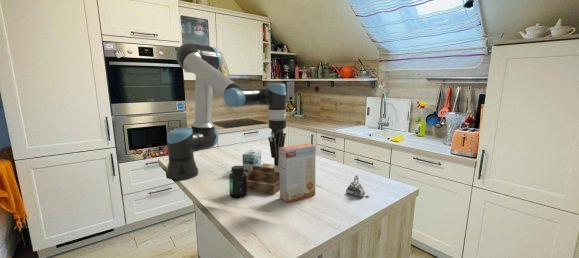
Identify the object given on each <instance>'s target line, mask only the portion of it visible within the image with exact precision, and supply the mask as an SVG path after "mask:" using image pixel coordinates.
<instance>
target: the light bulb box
mask: <svg viewBox="0 0 579 258" xmlns="http://www.w3.org/2000/svg"><path fill="white" fill-rule="evenodd" d="M241 155H242V166H243V167H244V173H245V174H248V173H250V172H251V170H252V169H253V166H259V165H261V164H262V150H261V149H260V150H259V149H249V150H247V151H245V152H244V153H242V154H241Z"/></svg>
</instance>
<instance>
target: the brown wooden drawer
mask: <svg viewBox="0 0 579 258" xmlns="http://www.w3.org/2000/svg"><path fill="white" fill-rule="evenodd" d="M246 180H247V191H251V192H257V193H263V194H269V195H276V194H277V193H278V192H280V177H279V175H272V174H265V173H258V172H250V173H248V174H246Z"/></svg>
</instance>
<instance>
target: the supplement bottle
mask: <svg viewBox="0 0 579 258" xmlns="http://www.w3.org/2000/svg"><path fill="white" fill-rule="evenodd" d="M228 177H229V178H228V181H229V197H231V198H232V199H242V198H245V197H246V196H247V195H248V193H247V192H248V190H247V180H246V174H245V173H244V167H243V165H233V166H231V173H230V174H229V176H228Z"/></svg>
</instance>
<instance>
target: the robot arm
mask: <svg viewBox="0 0 579 258" xmlns="http://www.w3.org/2000/svg"><path fill="white" fill-rule="evenodd" d="M175 58H176V61H177V63H178V65H179V66H180V67H181V68H182V69H184V71H186V72H187V73H192V74H194V75H195V86H194V87H195V88H194V89H195V92H194V98H195V99H194V122H192V123H191V127H189V126H188V127H187V126H186V127H178V128H174V129H172V130H170V131H168V133H167V134H166V137H167V138H166V142H167V153H168V165H167V169H166V170H165V178H166V179H169V180H173V181H174V180H175V181H177V180H188V179H191V178H194V177H196V176H197V175H199V168H198V167H197V164H196V160H195V157H194V156H195V155H194V153H196V152H200V151H202V150H204V151H205V150H208V149H211V148H213V147H215V146H216V145H217V144H218V141H219V137H220V136H219V132H218V130H217V128H216V127H215V124H214V123H213V122H212V119H213V118H212V117H213V115H212V114H213V96H214V95H213V94H214V93H213V92H214V91H216V92H217V93H218V94H219V95H220V96H222V97H223V101H224V102H225V105H226V106H228V107H230V108H243V107H250V106H251V107H252V106H268V119H269V120H268V128H269V129H270V130H271V133H270V136H268V143H269V148H270V149H269V150H270V156H271V158H273V159H274V160H273V165H274V172H279V148H280V147H285V142H286V141H285V140H286V136H287V134H286V132H284V129H286V127H287V120H286V118H287V113H288V112H287V108H286V107H287V103H286V102H287V91H286V84H285V83H273V82H272V83H268V86H267V88H265V87H241V86H240V85H239V84H237V83H236V82H235V81H234V80H232V79H230V78H229V77H228V76H226V75H225V74H224V73H222V72H221V71H220V70H219V69H220V68H221V66H222V62H223V59H222V55H221V52H219V50H218V49H217V48H215V47H214V46H210V45H204V44H198V43H193V42H191V43H190V42H189V43H184V44H182V45H180V46H179V47H178V48H177V50H176V54H175ZM213 89H214V91H213Z"/></svg>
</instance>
